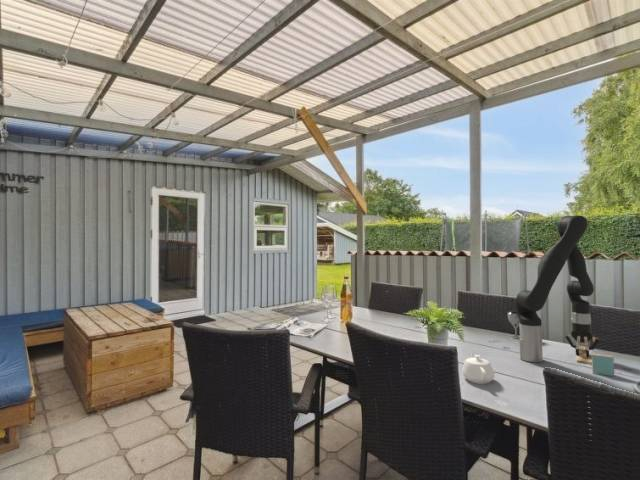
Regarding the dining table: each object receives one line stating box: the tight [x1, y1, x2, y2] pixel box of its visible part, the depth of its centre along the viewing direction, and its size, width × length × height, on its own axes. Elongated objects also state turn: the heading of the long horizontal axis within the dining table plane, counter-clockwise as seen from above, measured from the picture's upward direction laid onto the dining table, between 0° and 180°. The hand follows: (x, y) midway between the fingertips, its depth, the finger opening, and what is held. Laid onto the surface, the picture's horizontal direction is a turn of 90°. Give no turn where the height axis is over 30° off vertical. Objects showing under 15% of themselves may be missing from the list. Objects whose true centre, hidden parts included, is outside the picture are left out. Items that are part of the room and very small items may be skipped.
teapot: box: [461, 353, 495, 385], centre depth 141 cm, size 20×12×10 cm, turn 170°
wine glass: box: [507, 310, 520, 340], centre depth 198 cm, size 8×8×15 cm
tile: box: [591, 353, 615, 377], centre depth 143 cm, size 7×2×8 cm, turn 57°
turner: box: [574, 345, 592, 365], centre depth 162 cm, size 6×16×4 cm, turn 147°
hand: (582, 356), depth 163 cm, fingers closed on turner, 2 cm apart
